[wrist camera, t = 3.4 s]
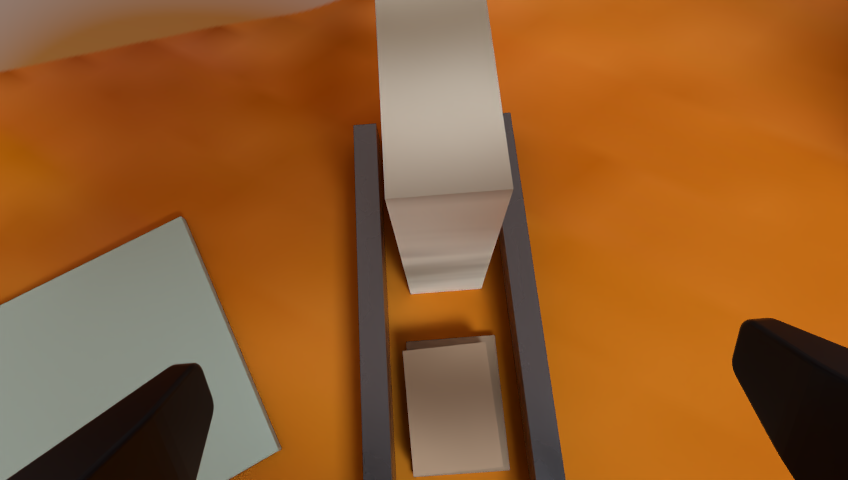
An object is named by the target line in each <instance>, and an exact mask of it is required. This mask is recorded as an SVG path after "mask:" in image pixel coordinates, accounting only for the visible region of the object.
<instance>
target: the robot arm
mask: <svg viewBox="0 0 848 480" xmlns="http://www.w3.org/2000/svg"><path fill="white" fill-rule="evenodd" d="M732 366H733V370H734V373H735V375H736V377H737V379H738V381H739V383H740V385H741V386H742V388H743V390H744V392H745V394H746V396H747V397H748V399H749V401H750V403H751V405H752V407H753V409H754V410H755V412H756V414H757V416H758V418H759V420H760V421H761V423H762V425H763V427H764V429H765V431H766V433H767V434H768V436H769V438H770V440H771V442H772V444H773V445H774V447H775V449H776V450H777V452H778V454H779V456H780V457H781V459H782V461H783V462H784V464H785V465H786V467H787V468H788V470H789V472H790V473H791V475H792V476H793V478H794V479H795V480H848V348H846V347H843V346H841V345H838V344H836V343H833V342H831V341H828V340H826V339H823V338H821V337H818V336H816V335H813V334H811V333H808V332H806V331H803V330H801V329H799V328H796V327H794V326H791V325H789V324H786V323H784V322H781V321H779V320H776V319H773V318H761V319H749V320H746V321H744V322H743V323H742V325H741V327H740V330H739V334H738V338H737V342H736V346H735V350H734V354H733V358H732ZM213 411H214V403H213V398H212V395H211V392H210V389H209V386H208V383H207V381H206V378H205V375H204V372H203V370H202V367H201V366H200V365H199V364H197V363H183V364H174V365H171V366H170V367H168V368H167V369H165V370H164V371H162V372H161V373H159V374H158V375H156V376H155V377H154V378H152V379H151V380H149V381H148V382H146V383H145V384H143V385H142V386H141V387H139V388H138V389H136V390H135V391H133V392H132V393H130V394H129V395H128V396H126V397H125V398H123V399H122V400H120V401H119V402H117V403H116V404H115V405H113V406H112V407H110V408H109V409H107V410H106V411H105V412H103V413H102V414H100V415H99V416H97V417H96V418H94V419H93V420H92V421H90V422H89V423H87V424H86V425H84V426H83V427H81V428H80V429H79V430H77V431H76V432H74V433H73V434H71V435H70V436H68V437H67V438H66V439H64V440H63V441H61V442H60V443H58V444H57V445H55V446H54V447H53V448H51V449H50V450H48V451H47V452H45V453H44V454H42V455H41V456H40V457H38V458H37V459H35V460H34V461H32V462H31V463H29V464H28V465H27V466H25V467H24V468H22V469H21V470H19V471H18V472H16V473H15V474H14V475H12V476H11V477H9V478H8V479H6V480H196V479H197V475H198V471H199V467H200V463H201V459H202V456H203V452H204V448H205V444H206V440H207V436H208V432H209V428H210V424H211V420H212V417H213Z"/></svg>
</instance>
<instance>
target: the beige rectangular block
mask: <svg viewBox="0 0 848 480" xmlns="http://www.w3.org/2000/svg"><path fill="white" fill-rule="evenodd" d="M375 8H376V28H377V49H378V69H379V89H380V109H381V130H382V150H383V170H384V190H385V201H386V205H387V209H388V212H389V216H390V220H391V223H392V227H393V231H394V234H395V238H396V242H397V245H398V249H399V253H400V256H401V260H402V264H403V267H404V271H405V275H406V278H407V282H408V286H409V289H410V293H411V294H419V293H432V292H445V291H458V290H471V289H481V288H482V285H483V282H484V278H485V275H486V272H487V269H488V266H489V263H490V260H491V257H492V254H493V251H494V248H495V245H496V241H497V238H498V235H499V232H500V229H501V226H502V223H503V220H504V217H505V214H506V211H507V208H508V204H509V201H510V198H511V195H512V192H513V182H512V175H511V168H510V161H509V154H508V147H507V140H506V133H505V126H504V119H503V112H502V105H501V98H500V91H499V84H498V77H497V71H496V64H495V57H494V50H493V43H492V36H491V29H490V22H489V15H488V8H487V1H486V0H375Z"/></svg>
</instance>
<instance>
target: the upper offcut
mask: <svg viewBox="0 0 848 480" xmlns="http://www.w3.org/2000/svg"><path fill="white" fill-rule="evenodd" d="M403 362H404V373H405V384H406V396H407V407H408V419H409V430H410V441H411V453H412V464H413V476H414V477H416V476H425V475H434V474H443V473H452V472H461V471H471V470H480V469H489V468H498V467H503V461H502V454H501V447H500V440H499V433H498V426H497V419H496V412H495V405H494V398H493V391H492V384H491V378H490V371H489V364H488V357H487V350H486V343H485V342H480V343H471V344H462V345H453V346H444V347H435V348H426V349H417V350H408V351H403Z"/></svg>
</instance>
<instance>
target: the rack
mask: <svg viewBox="0 0 848 480" xmlns="http://www.w3.org/2000/svg"><path fill="white" fill-rule="evenodd" d="M503 119H504V126H505V133H506V140H507V147H508V154H509V161H510V168H511V175H512V182H513V192H512V195H511V198H510V201H509V204H508V208H507V211H506V214H505V217H504V220H503V223H502V226H501V229H500V232H499V235H498V237H499V245H500V253H501V261H502V268H503V276H504V284H505V292H506V300H507V307H508V315H509V323H510V331H511V338H512V346H513V354H514V362H515V370H516V377H517V385H518V393H519V401H520V408H521V416H522V424H523V432H524V439H525V447H526V455H527V463H528V471H529V478H530V480H565V474H564V467H563V460H562V454H561V447H560V440H559V434H558V427H557V420H556V414H555V407H554V400H553V394H552V387H551V381H550V374H549V367H548V361H547V354H546V347H545V341H544V334H543V327H542V321H541V314H540V307H539V301H538V294H537V287H536V281H535V274H534V267H533V261H532V254H531V247H530V241H529V234H528V227H527V221H526V214H525V207H524V201H523V194H522V188H521V181H520V174H519V168H518V161H517V154H516V148H515V141H514V134H513V128H512V121H511V114H510V113H503ZM354 160H355V196H356V232H357V268H358V304H359V340H360V375H361V411H362V447H363V480H396V469H395V448H394V427H393V406H392V385H391V364H390V343H389V322H388V301H387V280H386V259H385V238H384V217H383V196H382V175H381V154H380V139H379V135H378V131H377V126H376V124H365V125H354Z"/></svg>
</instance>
